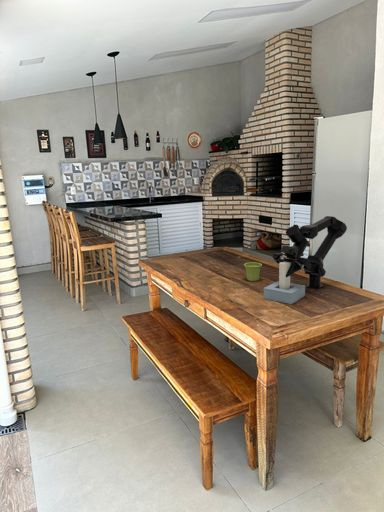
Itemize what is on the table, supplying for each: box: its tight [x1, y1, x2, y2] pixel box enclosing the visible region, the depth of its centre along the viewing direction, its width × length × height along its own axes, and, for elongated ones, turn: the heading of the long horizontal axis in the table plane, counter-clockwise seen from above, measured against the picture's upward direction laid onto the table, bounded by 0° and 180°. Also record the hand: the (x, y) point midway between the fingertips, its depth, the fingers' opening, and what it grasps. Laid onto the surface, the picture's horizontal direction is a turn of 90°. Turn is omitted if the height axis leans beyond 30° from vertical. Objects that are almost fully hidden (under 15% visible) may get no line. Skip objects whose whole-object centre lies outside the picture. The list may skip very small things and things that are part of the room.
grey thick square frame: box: [263, 280, 306, 305], centre depth 181 cm, size 14×14×5 cm
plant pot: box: [243, 261, 263, 282], centre depth 210 cm, size 9×9×9 cm
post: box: [278, 262, 291, 290], centre depth 179 cm, size 4×4×12 cm
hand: (282, 276), depth 178 cm, fingers closed on post, 3 cm apart
